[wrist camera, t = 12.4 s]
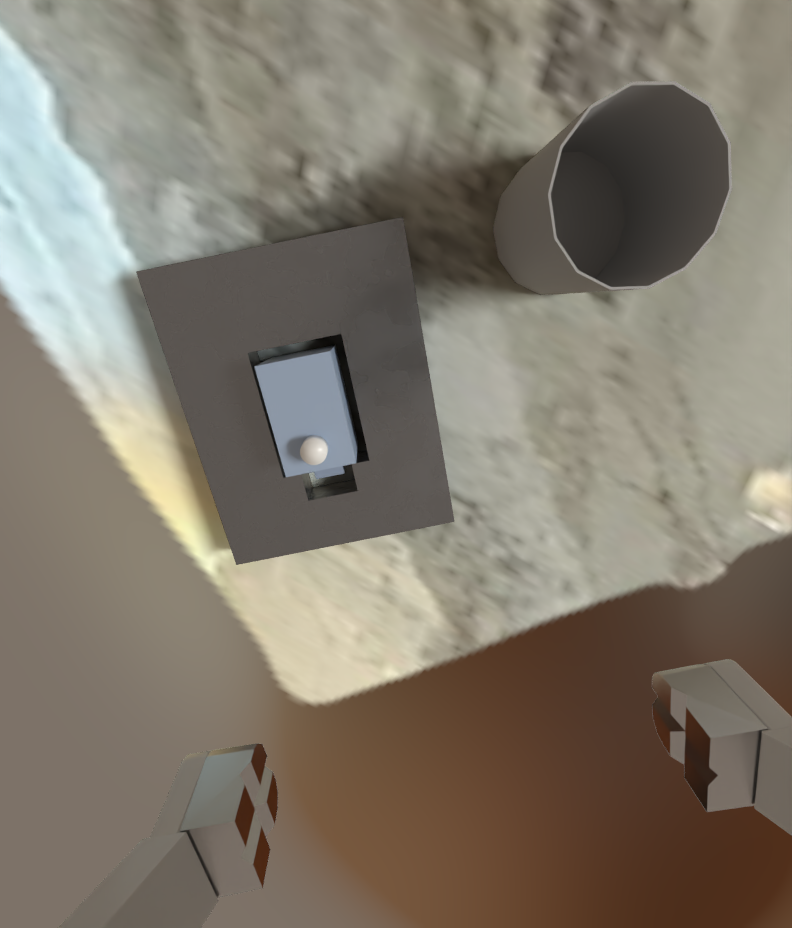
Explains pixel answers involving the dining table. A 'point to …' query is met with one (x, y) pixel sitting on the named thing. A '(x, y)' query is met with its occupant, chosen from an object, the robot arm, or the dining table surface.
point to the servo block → (309, 412)
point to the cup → (618, 194)
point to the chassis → (287, 322)
